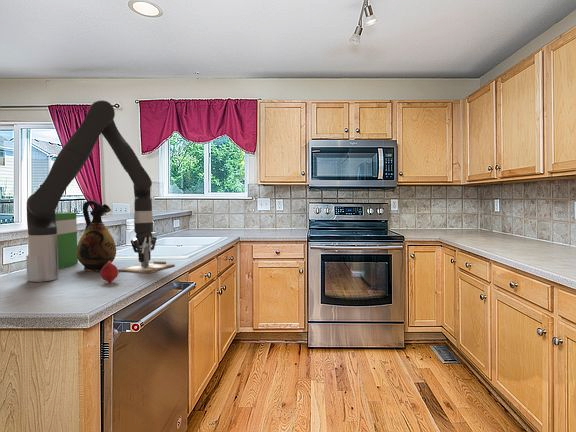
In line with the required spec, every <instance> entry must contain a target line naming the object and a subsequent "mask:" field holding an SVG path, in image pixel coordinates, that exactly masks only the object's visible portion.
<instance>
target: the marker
mask: <svg viewBox="0 0 576 432" xmlns="http://www.w3.org/2000/svg"><path fill="white" fill-rule="evenodd" d="M140 246H142V245H140ZM148 247H149V243H146V245H145V248H144V262H140V264H141V267H148V266H149V252H148Z"/></svg>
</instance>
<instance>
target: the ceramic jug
mask: <svg viewBox="0 0 576 432" xmlns="http://www.w3.org/2000/svg"><path fill="white" fill-rule="evenodd" d="M89 206H93V209H92V210H90V213H89ZM111 211H112V209H111V208H110V206H109V205H108V204H106V203H105V204H103V205H102V203H98V201H96V200H94V199H91V200H90V199H89V200H86V201H85V202H84V204H83V205H82V213H83V214H82V215H83V217H84V221H85V228H84V232H83V233H82V235H81V236H80V238H79V241H78V242H77V258H78V263H80V264H81V265H82V266H83V270H85V271H86V272H101V269H102V268H103V267H104V266H105V265H106V264H107V263H108V262H109V261H111V263H112V264H113V262H114V260H115V259H116V256H117V245H116V243H115V239H114V237H113V236H112V234H111V232H110V231H109V229H108V228H107V226H106V225H105V224H104V222H103V220H102V216H103V215H105V214H107V213H110V212H111ZM90 215H91V216H92V220H91V217H90Z"/></svg>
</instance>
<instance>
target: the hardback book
mask: <svg viewBox="0 0 576 432" xmlns="http://www.w3.org/2000/svg"><path fill="white" fill-rule="evenodd" d="M55 216H56V226H57V248H58V270H60V269H64V268H67V267H70V266H74V265H76V264H79V260H78V258H77V246H78V229H77V227H78V225H77V222H78V221H77V212H55Z"/></svg>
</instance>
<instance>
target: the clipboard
mask: <svg viewBox="0 0 576 432" xmlns="http://www.w3.org/2000/svg"><path fill="white" fill-rule="evenodd" d="M175 265H176V264H175V263H167V261H165V260H164V261H162V260H153V261H152V262H149V266H148V267H141V263H139V264H136V265H131V266H128V267H123V268H117V269H118V272H122V273H123V272H124V273H133V274H134V273H135V274H152V273H155V272H159V271H162V270H166V269H169V268H172V267H175Z"/></svg>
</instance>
